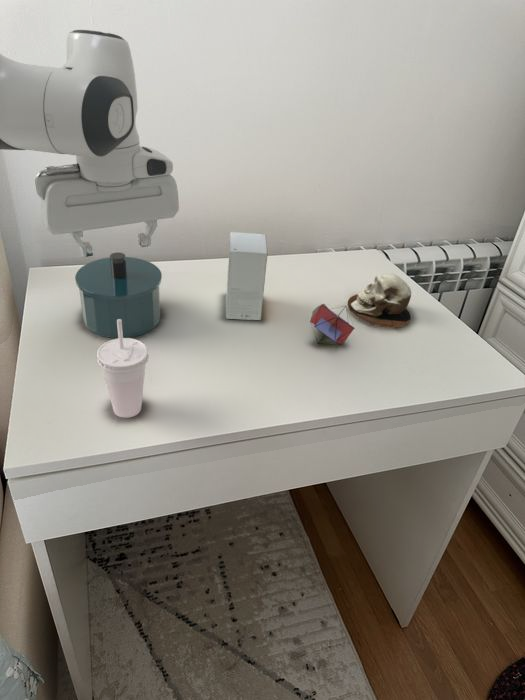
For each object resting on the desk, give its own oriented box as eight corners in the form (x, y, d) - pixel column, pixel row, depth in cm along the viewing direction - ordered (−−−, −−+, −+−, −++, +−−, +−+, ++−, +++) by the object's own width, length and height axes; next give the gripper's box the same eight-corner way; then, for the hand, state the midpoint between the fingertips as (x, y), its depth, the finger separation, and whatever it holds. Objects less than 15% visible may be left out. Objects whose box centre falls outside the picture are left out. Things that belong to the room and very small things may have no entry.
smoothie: (143, 389, 77) (139, 305, 69) (157, 417, 72) (153, 331, 64) (98, 399, 74) (87, 313, 66) (109, 429, 70) (99, 341, 61)
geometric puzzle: (366, 330, 91) (346, 289, 88) (353, 350, 85) (332, 306, 83) (331, 340, 95) (311, 301, 93) (316, 359, 90) (295, 319, 88)
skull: (356, 326, 93) (354, 269, 94) (342, 334, 103) (341, 282, 105) (422, 326, 94) (420, 270, 95) (402, 335, 104) (400, 283, 106)
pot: (118, 347, 84) (115, 307, 80) (68, 317, 90) (62, 278, 86) (175, 317, 93) (174, 278, 88) (125, 291, 98) (122, 254, 94)
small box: (261, 321, 94) (268, 253, 87) (225, 319, 94) (228, 251, 86) (260, 298, 101) (266, 233, 93) (226, 296, 100) (229, 231, 93)
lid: (115, 312, 80) (112, 285, 77) (58, 281, 86) (53, 254, 83) (179, 282, 89) (178, 256, 86) (123, 255, 95) (121, 231, 92)
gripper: (38, 175, 69) (54, 270, 77) (182, 161, 79) (183, 247, 87) (27, 161, 73) (43, 253, 81) (165, 149, 83) (167, 233, 91)
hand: (116, 250), depth 84 cm, fingers open, 8 cm apart
